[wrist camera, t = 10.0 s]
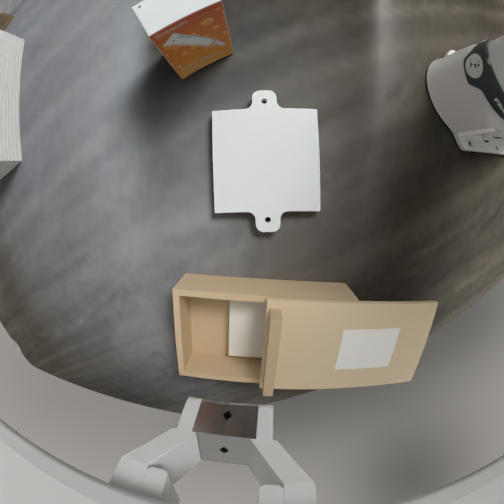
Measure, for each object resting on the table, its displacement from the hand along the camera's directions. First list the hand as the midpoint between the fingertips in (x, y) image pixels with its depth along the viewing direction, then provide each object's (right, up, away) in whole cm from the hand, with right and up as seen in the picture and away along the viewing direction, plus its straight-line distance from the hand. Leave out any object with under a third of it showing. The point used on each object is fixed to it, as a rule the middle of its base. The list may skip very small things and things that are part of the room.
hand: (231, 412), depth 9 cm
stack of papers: (-50, +36, +23) cm, 66 cm away
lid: (+13, -6, +23) cm, 27 cm away
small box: (-7, +33, +21) cm, 40 cm away
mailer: (+2, -4, +30) cm, 30 cm away
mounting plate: (+3, +17, +25) cm, 31 cm away
